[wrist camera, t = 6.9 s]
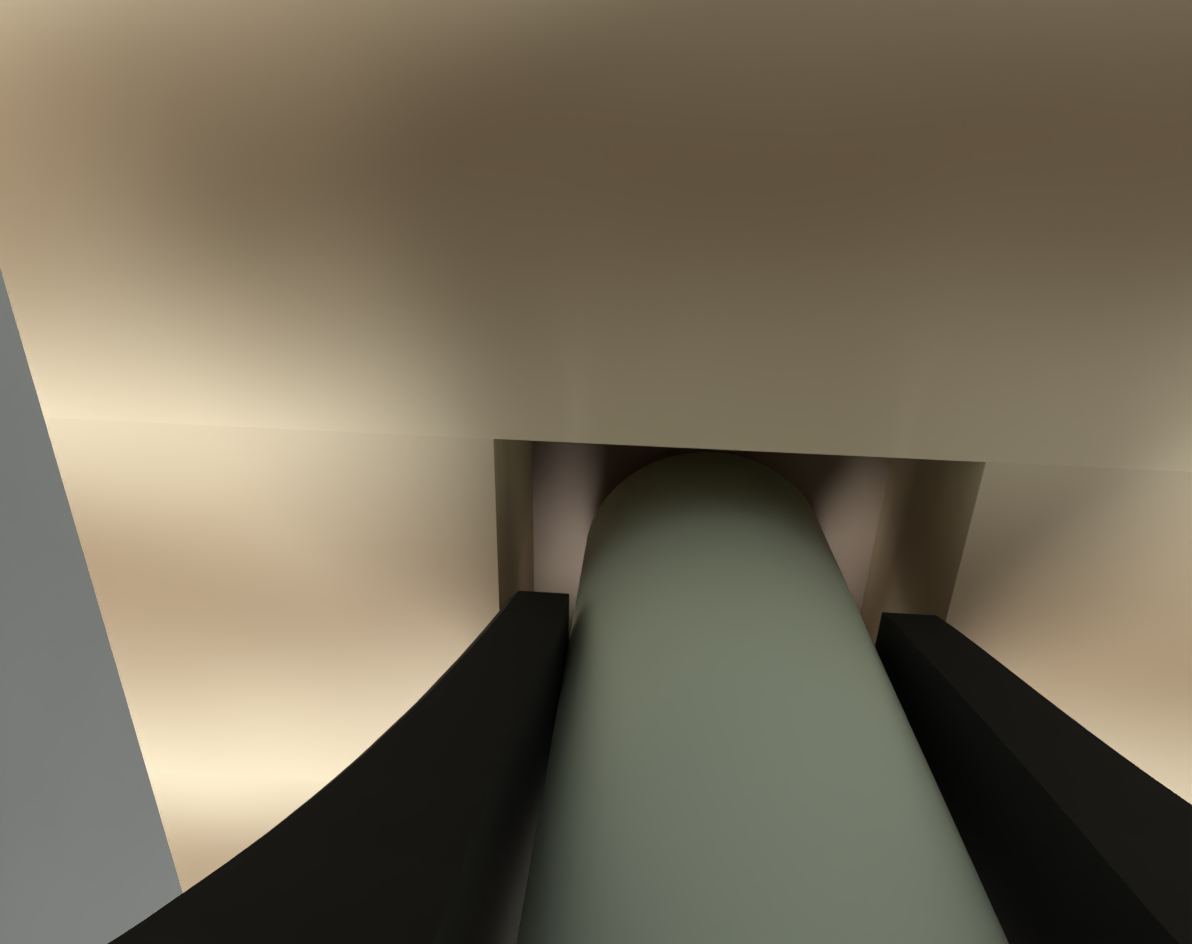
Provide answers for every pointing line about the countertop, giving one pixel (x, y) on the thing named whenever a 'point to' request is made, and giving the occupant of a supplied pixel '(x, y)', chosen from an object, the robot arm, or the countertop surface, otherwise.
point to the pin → (734, 739)
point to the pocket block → (594, 334)
